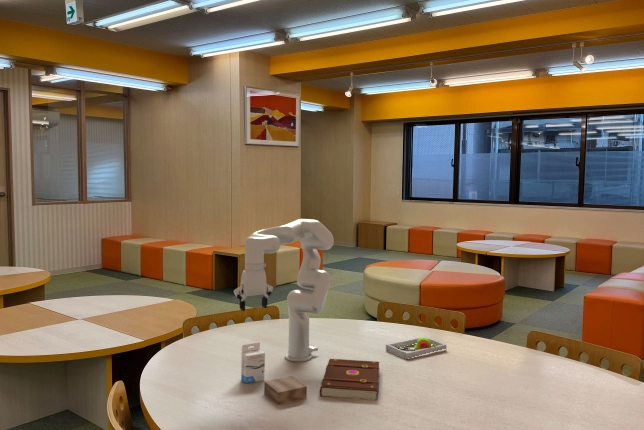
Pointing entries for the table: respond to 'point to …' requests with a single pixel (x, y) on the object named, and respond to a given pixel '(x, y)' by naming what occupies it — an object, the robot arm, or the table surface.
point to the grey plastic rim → (394, 350)
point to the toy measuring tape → (421, 344)
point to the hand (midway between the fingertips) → (253, 308)
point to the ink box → (252, 363)
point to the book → (350, 379)
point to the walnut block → (285, 390)
